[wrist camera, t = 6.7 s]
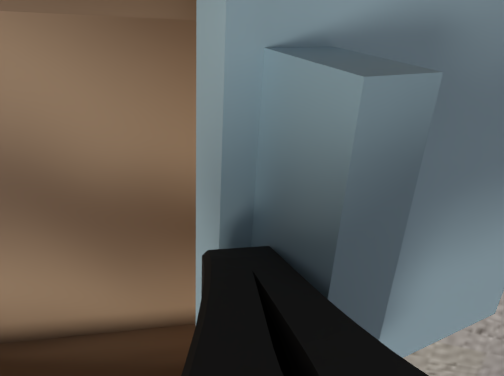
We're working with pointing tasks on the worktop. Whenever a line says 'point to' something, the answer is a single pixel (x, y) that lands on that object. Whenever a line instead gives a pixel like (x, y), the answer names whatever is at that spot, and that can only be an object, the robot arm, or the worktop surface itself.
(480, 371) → the worktop surface
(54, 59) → the lid box
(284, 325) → the robot arm
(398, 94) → the lid
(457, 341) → the worktop surface
